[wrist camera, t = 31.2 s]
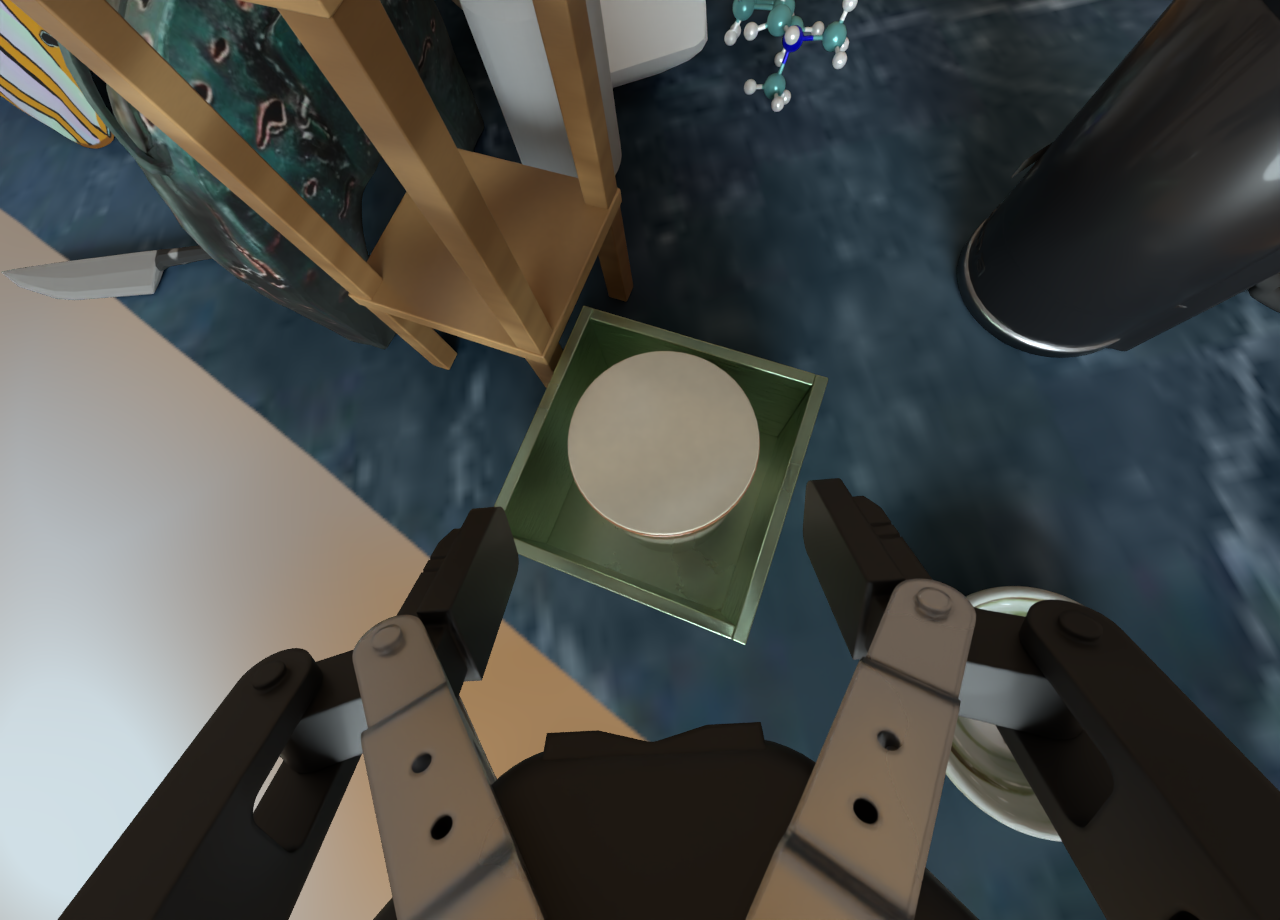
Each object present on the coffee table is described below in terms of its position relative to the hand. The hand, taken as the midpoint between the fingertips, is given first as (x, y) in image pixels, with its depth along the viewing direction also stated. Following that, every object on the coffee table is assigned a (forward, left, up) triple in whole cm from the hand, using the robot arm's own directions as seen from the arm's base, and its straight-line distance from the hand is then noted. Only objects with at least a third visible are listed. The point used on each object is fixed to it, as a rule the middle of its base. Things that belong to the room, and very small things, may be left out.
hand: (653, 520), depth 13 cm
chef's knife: (+40, -3, -13) cm, 42 cm away
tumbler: (+1, -3, -12) cm, 12 cm away
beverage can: (+14, -21, -13) cm, 29 cm away
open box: (+1, -3, -13) cm, 13 cm away
